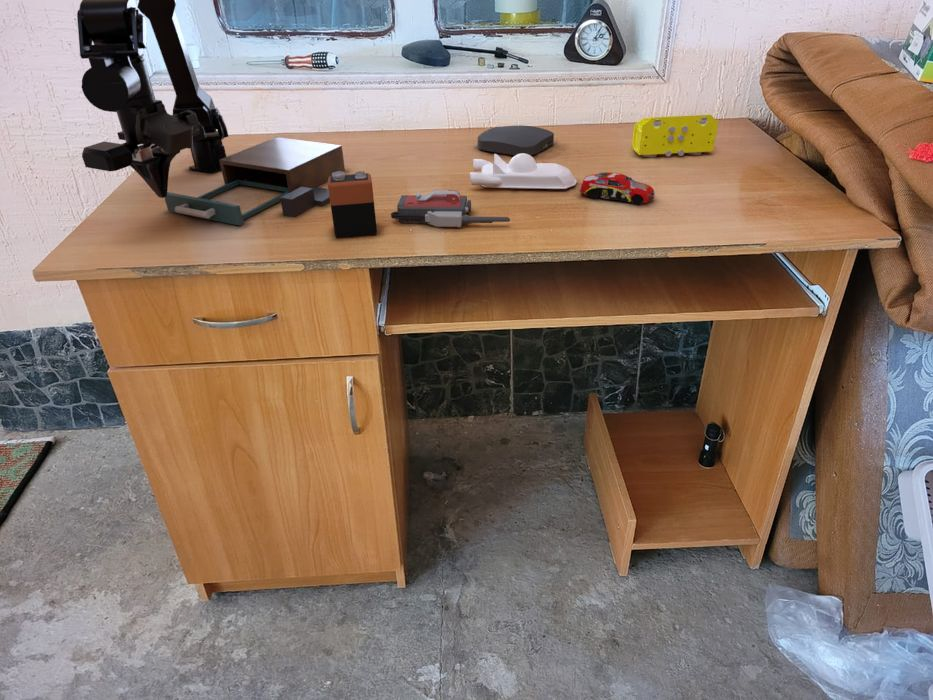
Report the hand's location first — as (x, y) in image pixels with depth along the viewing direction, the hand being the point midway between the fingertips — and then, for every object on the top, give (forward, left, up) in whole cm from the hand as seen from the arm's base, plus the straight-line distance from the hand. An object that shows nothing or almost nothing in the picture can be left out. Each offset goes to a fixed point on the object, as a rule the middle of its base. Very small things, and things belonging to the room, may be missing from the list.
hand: (162, 197), depth 104 cm
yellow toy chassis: (+67, +74, -6) cm, 100 cm away
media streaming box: (+34, +67, -7) cm, 76 cm away
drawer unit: (0, +29, -6) cm, 30 cm away
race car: (+63, +44, -7) cm, 77 cm away
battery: (+28, +12, -7) cm, 31 cm away
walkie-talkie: (+40, +23, -6) cm, 47 cm away
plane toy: (+45, +44, -6) cm, 64 cm away
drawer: (0, +14, -6) cm, 15 cm away
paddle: (+13, +20, -6) cm, 25 cm away
